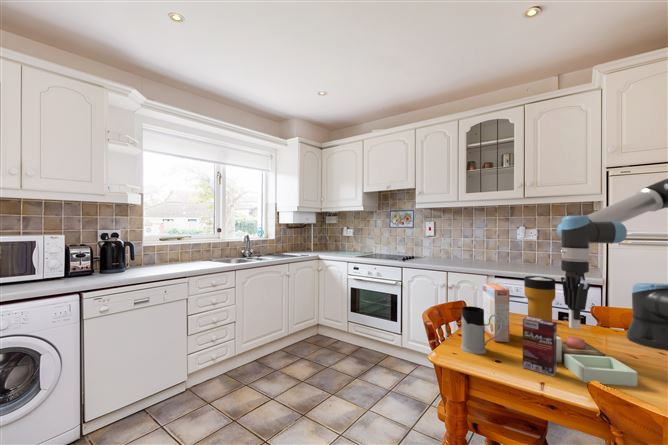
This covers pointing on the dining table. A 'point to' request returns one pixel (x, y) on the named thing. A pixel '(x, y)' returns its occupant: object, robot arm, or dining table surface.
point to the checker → (580, 351)
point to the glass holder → (474, 330)
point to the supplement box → (539, 345)
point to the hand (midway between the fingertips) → (574, 328)
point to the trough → (600, 369)
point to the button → (575, 343)
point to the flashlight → (539, 296)
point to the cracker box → (496, 311)
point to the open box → (559, 350)
